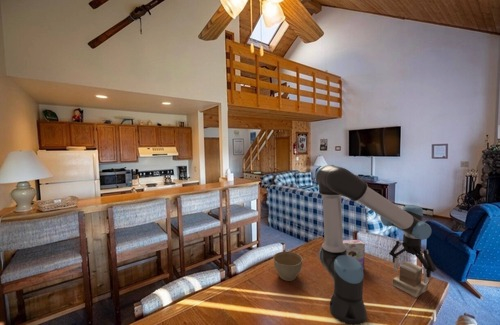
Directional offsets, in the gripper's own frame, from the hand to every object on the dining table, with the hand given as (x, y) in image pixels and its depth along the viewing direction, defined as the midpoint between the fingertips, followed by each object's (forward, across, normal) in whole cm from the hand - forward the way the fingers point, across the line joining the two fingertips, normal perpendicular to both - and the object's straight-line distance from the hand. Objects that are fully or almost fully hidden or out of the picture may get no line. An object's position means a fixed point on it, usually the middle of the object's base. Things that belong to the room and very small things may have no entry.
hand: (410, 275), depth 116 cm
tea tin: (+3, 0, 0) cm, 3 cm away
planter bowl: (+7, +41, +47) cm, 63 cm away
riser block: (+7, 0, 0) cm, 7 cm away
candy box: (+7, +28, +9) cm, 30 cm away
